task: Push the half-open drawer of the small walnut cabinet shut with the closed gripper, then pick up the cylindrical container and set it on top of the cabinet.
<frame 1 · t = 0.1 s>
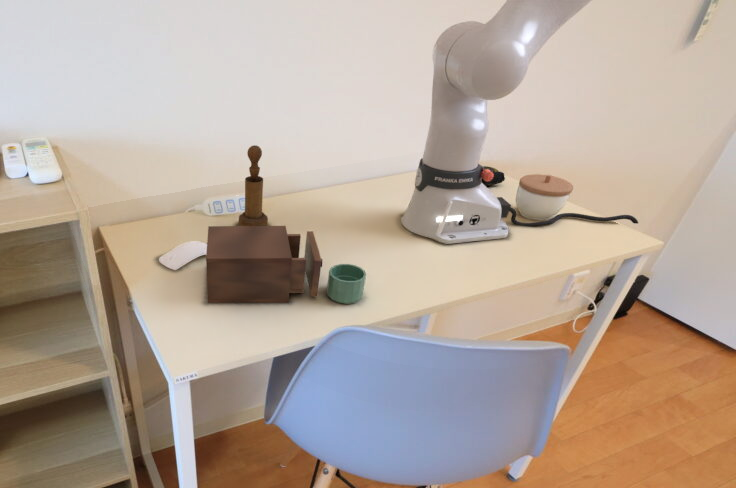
tape measure: (485, 185, 136), on the table
white curved flat piece: (187, 257, 107), on the table
trinket box: (534, 215, 121), on the table
cabinet: (247, 284, 98), on the table
cylindrical container: (344, 295, 95), on the table
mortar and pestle: (253, 227, 118), on the table
drawer: (281, 263, 96), point 5 cm above the table, slide at 4.0 cm
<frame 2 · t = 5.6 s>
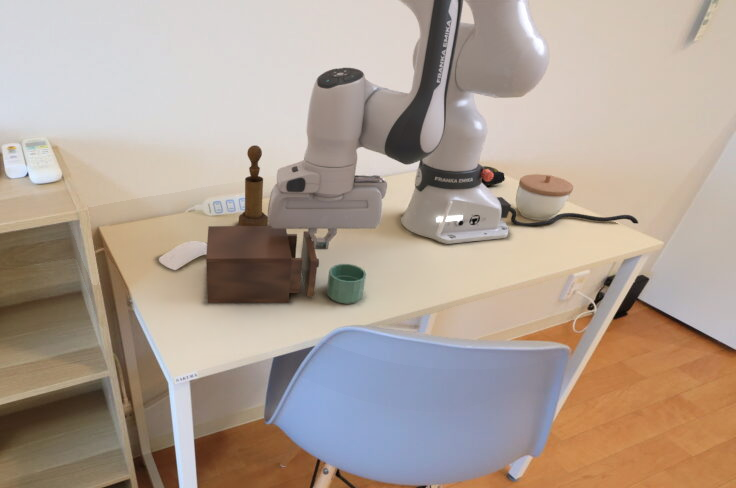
hand: (319, 248, 97), 6 cm above the table, tool pointing down, fingers closed
drawer: (278, 263, 96), point 5 cm above the table, slide at 3.3 cm, touching gripper
everything else where it was.
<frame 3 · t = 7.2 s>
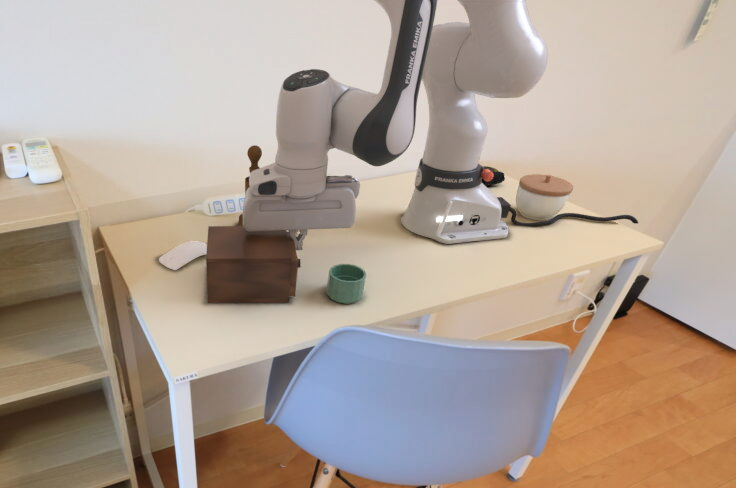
hand: (296, 249, 98), 6 cm above the table, tool pointing down, fingers closed, pressing on drawer
drawer: (260, 263, 96), point 5 cm above the table, slide at 0.0 cm, touching cabinet, gripper
everything else where it was.
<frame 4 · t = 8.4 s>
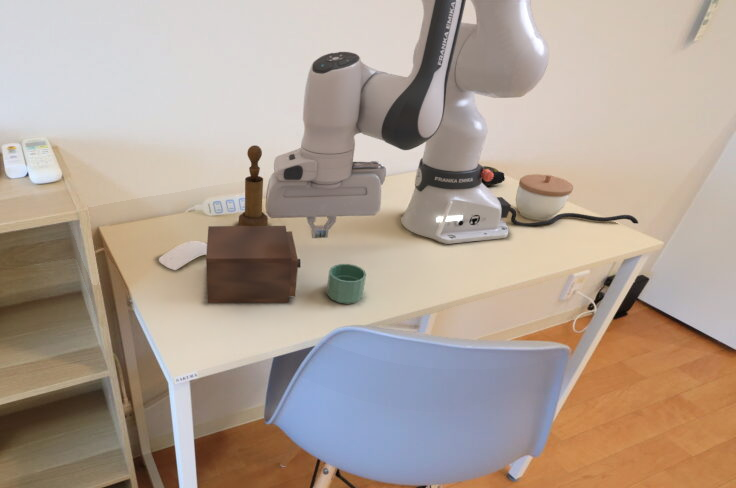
hand: (319, 236, 96), 8 cm above the table, tool pointing down, fingers closed
drawer: (260, 263, 96), point 5 cm above the table, slide at 0.0 cm, touching cabinet
everything else where it was.
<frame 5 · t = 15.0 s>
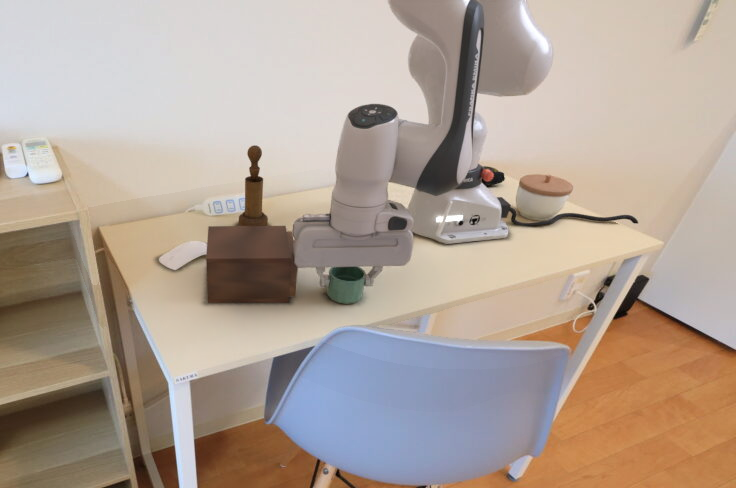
hand: (345, 285, 94), 2 cm above the table, tool pointing down, fingers closed on cylindrical container, 6 cm apart
cylindrical container: (344, 295, 95), on the table, touching gripper
everything else where it was.
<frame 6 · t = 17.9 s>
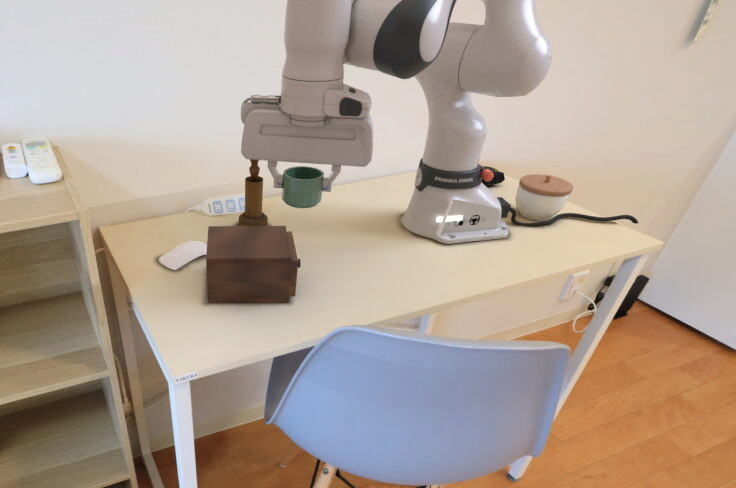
hand: (302, 188, 84), 20 cm above the table, tool pointing down, fingers closed on cylindrical container, 6 cm apart
cylindrical container: (301, 201, 86), point 17 cm above the table, touching gripper
everything else where it was.
when the fingers open (11 cm above the table, at t = 21.1 s): cylindrical container stays where it is, resting on cabinet.
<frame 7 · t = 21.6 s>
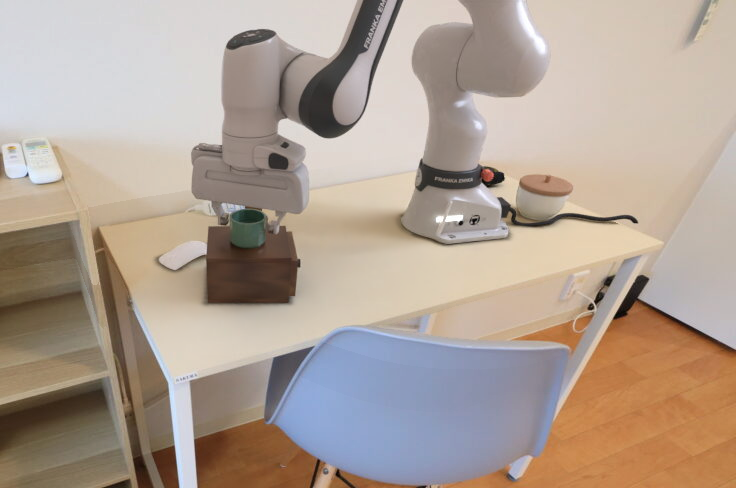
hand: (248, 228, 91), 12 cm above the table, tool pointing down, fingers open, 8 cm apart
cylindrical container: (247, 241, 93), point 9 cm above the table, touching cabinet
everything else where it was.
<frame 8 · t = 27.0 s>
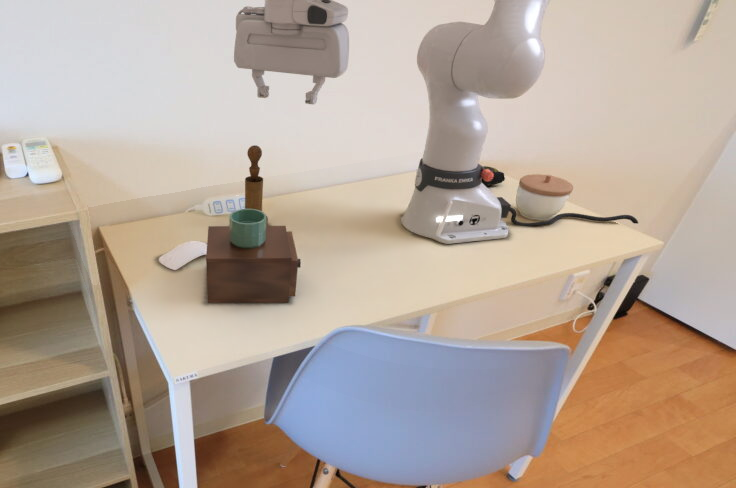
hand: (286, 100, 92), 29 cm above the table, tool pointing down, fingers open, 8 cm apart
nothing on the table moved.
at the end: drawer slide at 0.0 cm; cylindrical container inside the target area on the cabinet (0.1 cm from its centre), point 9.1 cm above the cabinet's base; cylindrical container tilted 0° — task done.
